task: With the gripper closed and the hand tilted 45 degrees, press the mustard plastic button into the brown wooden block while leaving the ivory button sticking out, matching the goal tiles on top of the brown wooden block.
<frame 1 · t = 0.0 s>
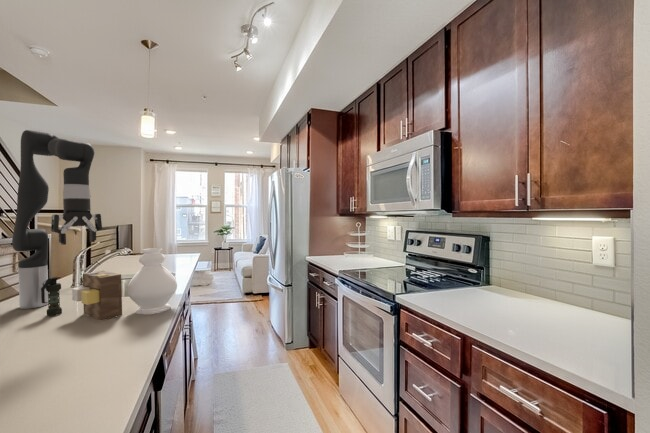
hand: (78, 243, 111), 29 cm above the counter, tool pointing down, fingers open, 8 cm apart
brown wooden block: (92, 317, 119), on the counter
mustard button: (93, 296, 116), point 9 cm above the counter, slide at 0.0 cm
ivory button: (84, 293, 120), point 9 cm above the counter, slide at 0.0 cm
decorative vase: (153, 309, 128), on the counter
grenade: (51, 315, 122), on the counter
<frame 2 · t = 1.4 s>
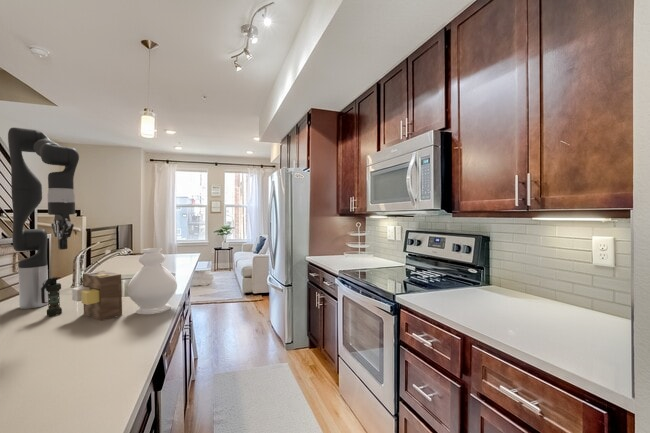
hand: (63, 249, 113), 27 cm above the counter, tool pointing down, fingers closed
nothing on the counter moved.
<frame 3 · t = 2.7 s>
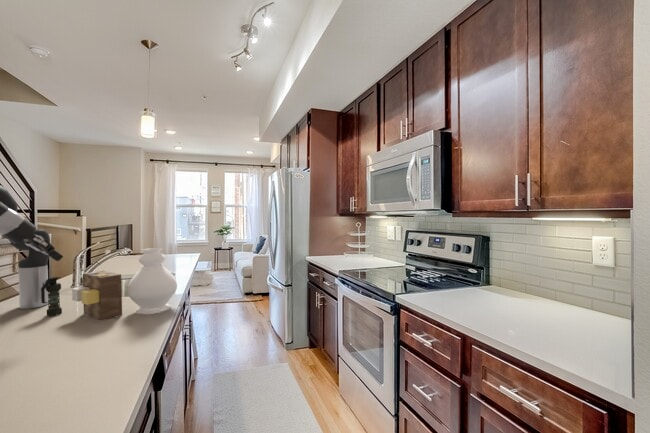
hand: (60, 258, 110), 24 cm above the counter, tool tilted 45°, fingers closed
nothing on the counter moved.
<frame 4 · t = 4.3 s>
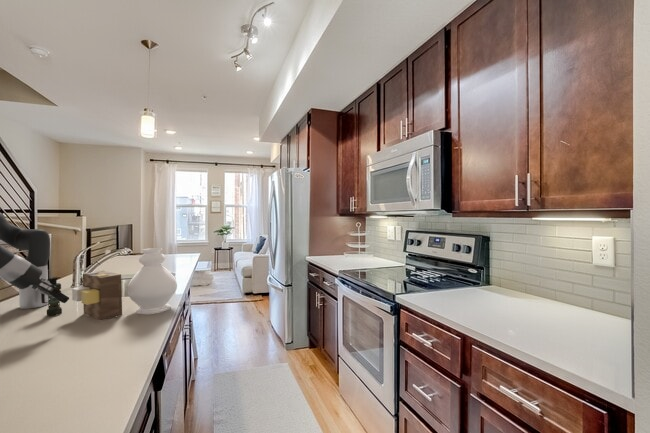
hand: (66, 300, 109), 9 cm above the counter, tool tilted 45°, fingers closed
nothing on the counter moved.
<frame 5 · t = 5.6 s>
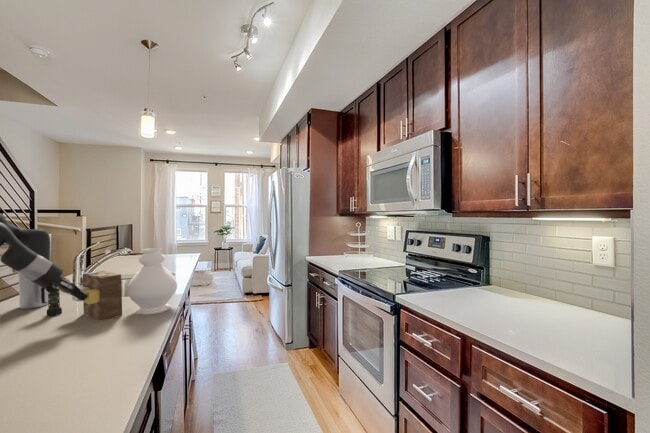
hand: (84, 298, 114), 9 cm above the counter, tool tilted 45°, fingers closed
mustard button: (96, 295, 117), point 9 cm above the counter, slide at 0.8 cm, touching gripper
everything else where it was.
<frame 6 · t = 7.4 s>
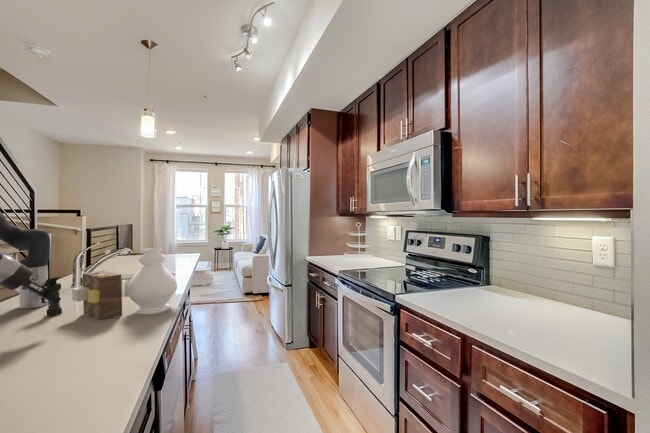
hand: (57, 301, 107), 10 cm above the counter, tool tilted 45°, fingers closed
mustard button: (99, 294, 118), point 9 cm above the counter, slide at 2.0 cm
everything else where it was.
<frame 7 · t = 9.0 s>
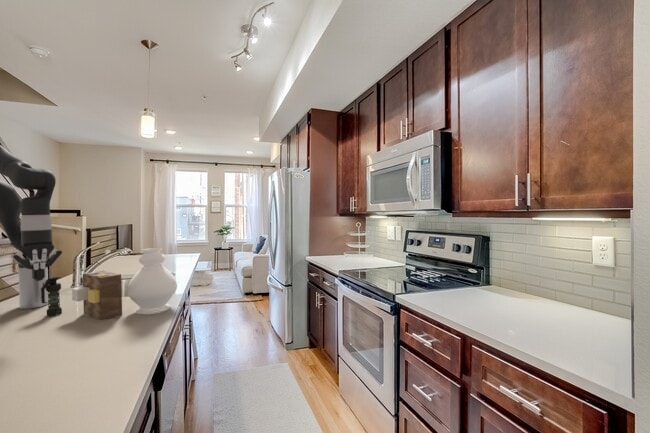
hand: (38, 280, 104), 18 cm above the counter, tool pointing down, fingers closed
nothing on the counter moved.
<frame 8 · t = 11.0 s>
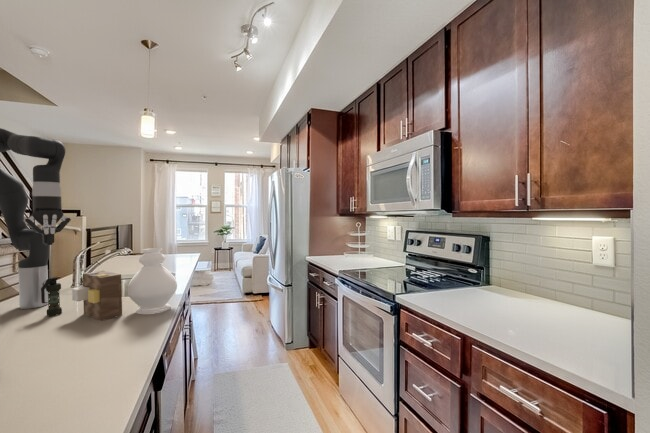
hand: (48, 244, 109), 29 cm above the counter, tool pointing down, fingers closed
nothing on the counter moved.
at the end: mustard button slide at 2.0 cm; ivory button slide at 0.0 cm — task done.
